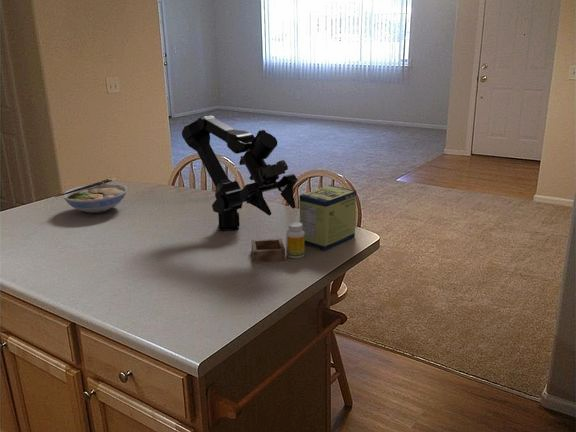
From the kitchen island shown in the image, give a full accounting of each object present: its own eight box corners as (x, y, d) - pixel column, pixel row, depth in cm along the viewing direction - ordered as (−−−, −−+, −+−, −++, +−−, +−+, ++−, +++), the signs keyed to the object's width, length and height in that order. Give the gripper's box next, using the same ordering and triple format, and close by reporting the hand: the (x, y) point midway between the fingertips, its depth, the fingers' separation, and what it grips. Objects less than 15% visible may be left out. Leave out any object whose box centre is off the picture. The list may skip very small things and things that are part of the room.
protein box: (355, 237, 168) (357, 190, 163) (325, 251, 157) (325, 201, 152) (329, 229, 174) (330, 184, 169) (298, 243, 163) (298, 195, 158)
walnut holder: (253, 262, 150) (253, 251, 148) (251, 250, 158) (251, 240, 157) (285, 260, 151) (285, 249, 150) (281, 248, 159) (281, 238, 158)
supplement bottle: (284, 253, 156) (283, 222, 153) (300, 250, 158) (300, 220, 154) (290, 259, 151) (289, 228, 148) (307, 257, 153) (307, 226, 150)
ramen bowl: (90, 225, 181) (87, 202, 179) (49, 214, 193) (45, 193, 190) (144, 206, 201) (142, 185, 199) (104, 197, 213) (101, 177, 210)
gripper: (243, 157, 147) (269, 203, 143) (293, 147, 159) (319, 190, 154) (228, 179, 155) (253, 223, 151) (277, 168, 167) (301, 209, 162)
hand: (282, 211), depth 154 cm, fingers open, 9 cm apart
